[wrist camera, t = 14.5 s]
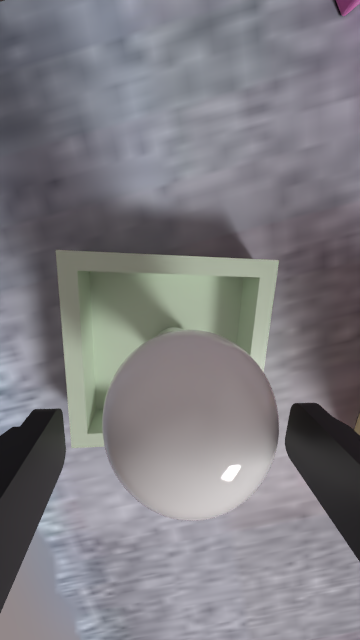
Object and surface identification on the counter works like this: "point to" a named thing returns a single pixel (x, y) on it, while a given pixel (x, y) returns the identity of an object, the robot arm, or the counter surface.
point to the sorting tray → (150, 315)
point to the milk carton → (357, 425)
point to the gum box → (347, 5)
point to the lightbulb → (190, 424)
